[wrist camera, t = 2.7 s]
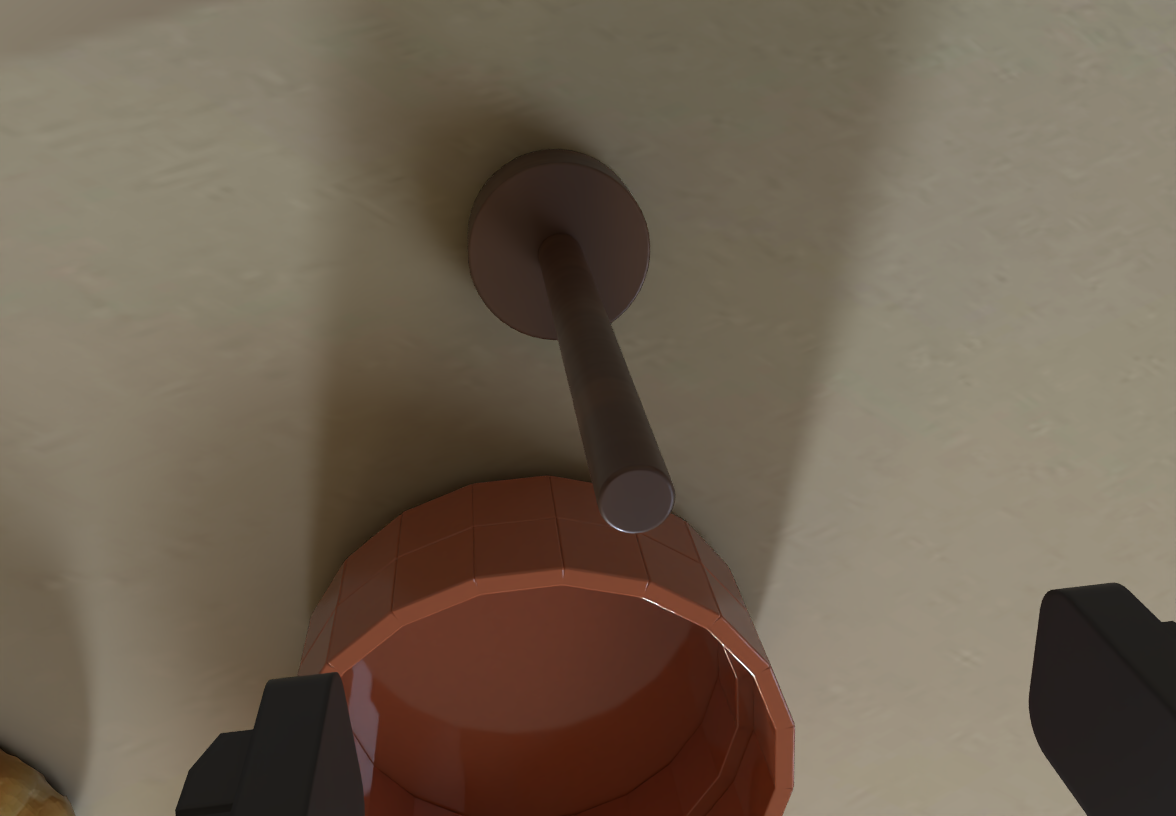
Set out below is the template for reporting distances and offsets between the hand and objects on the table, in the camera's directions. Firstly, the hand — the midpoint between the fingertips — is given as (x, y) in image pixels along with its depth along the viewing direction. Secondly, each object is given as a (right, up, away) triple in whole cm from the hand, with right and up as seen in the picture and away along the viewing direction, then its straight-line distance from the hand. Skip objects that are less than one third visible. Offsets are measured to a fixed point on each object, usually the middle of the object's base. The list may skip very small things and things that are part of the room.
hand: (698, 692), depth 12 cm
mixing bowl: (-3, -6, +25) cm, 25 cm away
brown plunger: (-2, +8, +19) cm, 21 cm away
